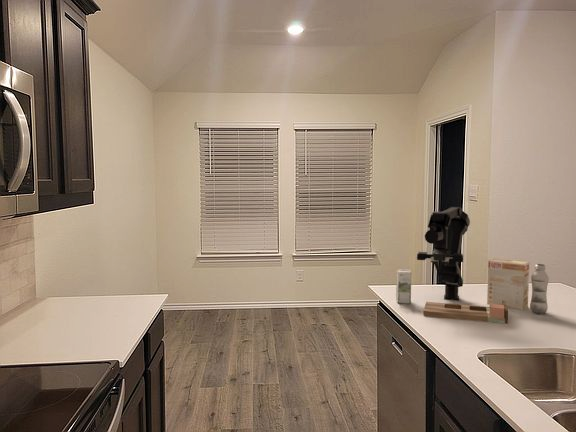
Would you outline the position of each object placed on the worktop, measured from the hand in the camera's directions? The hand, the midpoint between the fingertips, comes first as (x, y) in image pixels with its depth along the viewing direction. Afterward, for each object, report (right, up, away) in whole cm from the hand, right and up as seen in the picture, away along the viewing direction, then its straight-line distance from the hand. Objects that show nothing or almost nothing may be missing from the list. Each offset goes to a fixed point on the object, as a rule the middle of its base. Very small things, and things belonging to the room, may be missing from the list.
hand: (439, 276), depth 203 cm
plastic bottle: (+37, -14, -10) cm, 41 cm away
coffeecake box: (+30, -13, +1) cm, 32 cm away
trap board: (+6, -14, -11) cm, 19 cm away
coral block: (+15, -13, -21) cm, 29 cm away
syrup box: (-14, -13, +8) cm, 20 cm away
